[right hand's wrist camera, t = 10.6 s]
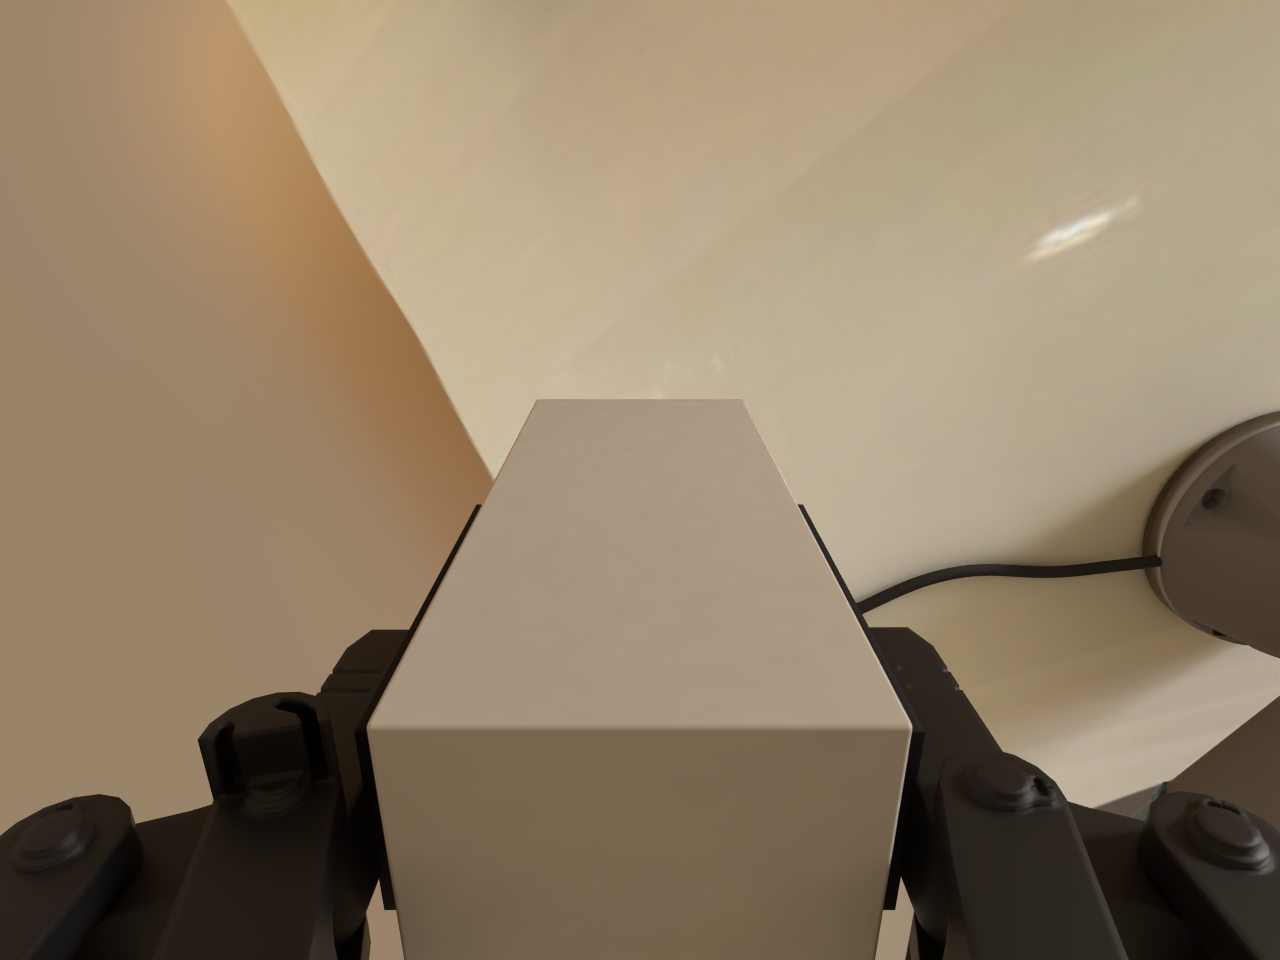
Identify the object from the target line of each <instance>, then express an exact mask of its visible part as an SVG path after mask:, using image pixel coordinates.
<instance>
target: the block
mask: <svg viewBox="0 0 1280 960" xmlns="http://www.w3.org/2000/svg"><path fill="white" fill-rule="evenodd" d="M367 733H368V739H369V746H370V752H371V758H372V764H373V770H374V776H375V782H376V789H377V795H378V801H379V807H380V813H381V819H382V825H383V831H384V838H385V844H386V850H387V856H388V862H389V868H390V874H391V881H392V887H393V893H394V899H395V905H396V911H397V917H398V924H399V930H400V936H401V942H402V948H403V954H404V960H875V956H876V950H877V943H878V937H879V931H880V925H881V919H882V912H883V906H884V900H885V894H886V888H887V882H888V876H889V870H890V863H891V857H892V851H893V845H894V839H895V833H896V827H897V820H898V814H899V808H900V802H901V796H902V790H903V783H904V777H905V771H906V765H907V759H908V753H909V747H910V740H911V734H912V724H911V722H910V720H909V718H908V716H907V714H906V712H905V710H904V708H903V706H902V704H901V702H900V701H899V699H898V697H897V695H896V693H895V691H894V689H893V687H892V685H891V683H890V681H889V679H888V678H887V676H886V674H885V672H884V670H883V668H882V666H881V664H880V662H879V660H878V658H877V656H876V654H875V653H874V651H873V649H872V647H871V645H870V643H869V641H868V639H867V637H866V635H865V633H864V631H863V630H862V628H861V626H860V624H859V622H858V620H857V618H856V616H855V614H854V612H853V610H852V608H851V607H850V605H849V603H848V601H847V599H846V597H845V595H844V593H843V591H842V589H841V587H840V585H839V584H838V582H837V580H836V578H835V576H834V574H833V572H832V570H831V568H830V566H829V564H828V562H827V560H826V559H825V557H824V555H823V553H822V551H821V549H820V547H819V545H818V543H817V541H816V539H815V537H814V536H813V534H812V532H811V530H810V528H809V526H808V524H807V522H806V520H805V518H804V516H803V514H802V513H801V511H800V509H799V507H798V505H797V503H796V501H795V499H794V497H793V495H792V493H791V491H790V490H789V488H788V486H787V484H786V482H785V480H784V478H783V476H782V474H781V472H780V470H779V468H778V466H777V465H776V463H775V461H774V459H773V457H772V455H771V453H770V451H769V449H768V447H767V445H766V443H765V442H764V440H763V438H762V436H761V434H760V432H759V430H758V428H757V426H756V424H755V422H754V420H753V419H752V417H751V415H750V413H749V411H748V409H747V407H746V405H745V403H744V401H743V400H537V401H536V403H535V404H534V406H533V408H532V410H531V412H530V414H529V416H528V418H527V420H526V422H525V424H524V425H523V427H522V429H521V431H520V433H519V435H518V437H517V439H516V441H515V443H514V445H513V447H512V448H511V450H510V452H509V454H508V456H507V458H506V460H505V462H504V464H503V466H502V468H501V469H500V471H499V473H498V475H497V477H496V479H495V481H494V483H493V485H492V487H491V489H490V491H489V492H488V494H487V496H486V498H485V500H484V502H483V504H482V506H481V508H480V510H479V512H478V513H477V515H476V517H475V519H474V521H473V523H472V525H471V527H470V529H469V531H468V533H467V534H466V536H465V538H464V540H463V542H462V544H461V546H460V548H459V550H458V552H457V554H456V556H455V557H454V559H453V561H452V563H451V565H450V567H449V569H448V571H447V573H446V575H445V577H444V578H443V580H442V582H441V584H440V586H439V588H438V590H437V592H436V594H435V596H434V598H433V600H432V601H431V603H430V605H429V607H428V609H427V611H426V613H425V615H424V617H423V619H422V621H421V622H420V624H419V626H418V628H417V630H416V632H415V634H414V636H413V638H412V640H411V642H410V644H409V645H408V647H407V649H406V651H405V653H404V655H403V657H402V659H401V661H400V663H399V665H398V666H397V668H396V670H395V672H394V674H393V676H392V678H391V680H390V682H389V684H388V686H387V687H386V689H385V691H384V693H383V695H382V697H381V699H380V701H379V703H378V705H377V707H376V709H375V710H374V712H373V714H372V716H371V718H370V720H369V722H368V724H367Z"/></svg>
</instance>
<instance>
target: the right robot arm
mask: <svg viewBox="0 0 1280 960" xmlns="http://www.w3.org/2000/svg"><path fill="white" fill-rule="evenodd" d="M481 506H482V505H476V507H475V509H474V511H473V512H472V514H471V516H470V518H469V520H468V522H467V524H466V525H465V527H464V529H463V531H462V533H461V535H460V537H459V538H458V540H457V542H456V544H455V546H454V548H453V550H452V551H451V553H450V555H449V557H448V559H447V561H446V563H445V565H444V566H443V568H442V570H441V572H440V574H439V575H438V577H437V579H436V581H435V583H434V585H433V587H432V588H431V590H430V592H429V594H428V596H427V598H426V600H425V601H424V603H423V605H422V607H421V609H420V611H419V613H418V614H417V616H416V618H415V620H414V622H413V624H412V626H411V627H410V629H409V630H371V631H370V632H368V633H367V634H366V635H364V636H363V637H362V638H360V639H359V640H357V641H356V642H355V643H354V644H352V645H351V646H349V647H348V648H347V649H346V650H345V652H344V653H343V655H342V657H341V658H340V660H339V661H338V663H337V664H336V666H335V667H334V669H333V673H332V674H330V675H329V676H328V678H327V679H326V681H325V682H324V684H323V685H322V687H321V692H320V693H317V695H316V696H313V695H310V694H306V693H302V692H282V693H274V694H270V695H266V696H262V697H257V698H253V699H251V700H249V701H247V702H244V703H242V704H240V705H238V706H235V707H233V708H231V709H229V710H228V711H226V712H225V713H224V714H222V715H221V716H219V717H218V718H217V719H215V720H214V721H213V722H211V723H210V724H209V725H208V727H207V728H206V729H205V731H204V732H203V733H202V735H201V736H200V737H199V739H198V743H199V747H200V750H201V754H202V758H203V762H204V765H205V769H206V773H207V777H208V780H209V784H210V788H211V792H212V796H213V799H214V801H213V803H212V805H209V806H205V807H202V808H199V809H196V810H192V811H189V812H184V813H180V814H176V815H171V816H167V817H163V818H159V819H154V820H150V821H146V822H141V823H137V824H135V821H134V818H133V815H132V812H131V809H130V807H129V806H128V805H127V804H126V803H125V802H124V801H122V800H121V799H120V798H119V797H113V796H107V795H101V794H97V795H90V796H82V797H75V798H71V799H68V800H66V801H63V802H60V803H57V804H54V805H51V806H48V807H45V808H43V809H41V810H40V811H38V812H36V813H34V814H32V815H30V816H28V817H27V818H25V819H23V820H21V821H19V822H17V823H16V824H14V825H13V826H12V827H11V828H9V829H8V830H7V831H6V832H4V833H3V834H2V835H1V836H0V960H369V954H370V944H371V941H370V933H369V926H368V921H367V915H366V911H367V908H368V906H369V903H370V900H371V898H372V895H373V893H374V890H375V888H376V885H377V882H378V880H379V881H380V887H381V893H382V899H383V904H384V910H396V905H395V899H394V893H393V887H392V881H391V874H390V868H389V862H388V856H387V850H386V844H385V838H384V831H383V825H382V819H381V813H380V807H379V801H378V795H377V789H376V782H375V776H374V770H373V764H372V758H371V752H370V746H369V739H368V733H367V724H368V722H369V720H370V718H371V716H372V714H373V712H374V710H375V709H376V707H377V705H378V703H379V701H380V699H381V697H382V695H383V693H384V691H385V689H386V687H387V686H388V684H389V682H390V680H391V678H392V676H393V674H394V672H395V670H396V668H397V666H398V665H399V663H400V661H401V659H402V657H403V655H404V653H405V651H406V649H407V647H408V645H409V644H410V642H411V640H412V638H413V636H414V634H415V632H416V630H417V628H418V626H419V624H420V622H421V621H422V619H423V617H424V615H425V613H426V611H427V609H428V607H429V605H430V603H431V601H432V600H433V598H434V596H435V594H436V592H437V590H438V588H439V586H440V584H441V582H442V580H443V578H444V577H445V575H446V573H447V571H448V569H449V567H450V565H451V563H452V561H453V559H454V557H455V556H456V554H457V552H458V550H459V548H460V546H461V544H462V542H463V540H464V538H465V536H466V534H467V533H468V531H469V529H470V527H471V525H472V523H473V521H474V519H475V517H476V515H477V513H478V512H479V510H480V508H481ZM798 507H799V509H800V511H801V513H802V514H803V516H804V518H805V520H806V522H807V524H808V526H809V528H810V530H811V532H812V534H813V536H814V537H815V539H816V541H817V543H818V545H819V547H820V549H821V551H822V553H823V555H824V557H825V559H826V560H827V562H828V564H829V566H830V568H831V570H832V572H833V574H834V576H835V578H836V580H837V582H838V584H839V585H840V587H841V589H842V591H843V593H844V595H845V597H846V599H847V601H848V603H849V605H850V607H851V608H852V610H853V612H854V614H855V616H856V618H857V620H858V622H859V624H860V626H861V628H862V630H863V631H864V633H865V635H866V637H867V639H868V641H869V643H870V645H871V647H872V649H873V651H874V653H875V654H876V656H877V658H878V660H879V662H880V664H881V666H882V668H883V670H884V672H885V674H886V676H887V678H888V679H889V681H890V683H891V685H892V687H893V689H894V691H895V693H896V695H897V697H898V699H899V701H900V702H901V704H902V706H903V708H904V710H905V712H906V714H907V716H908V718H909V720H910V722H911V724H912V734H911V740H910V747H909V753H908V759H907V765H906V771H905V777H904V783H903V790H902V796H901V802H900V808H899V814H898V820H897V827H896V833H895V839H894V845H893V851H892V857H891V863H890V870H889V876H888V882H887V888H886V894H885V900H884V906H883V910H895V907H896V901H897V896H898V890H899V884H900V878H902V880H903V883H904V885H905V888H906V890H907V893H908V896H909V898H910V901H911V903H912V906H913V908H914V915H913V920H912V926H911V931H910V937H909V942H908V948H907V953H906V959H905V960H1280V696H1279V697H1277V698H1276V699H1275V700H1274V701H1272V702H1271V703H1270V704H1269V705H1267V706H1266V707H1265V708H1263V709H1262V710H1261V711H1260V712H1258V713H1257V714H1256V715H1255V716H1253V717H1252V718H1251V719H1249V720H1248V721H1247V722H1246V723H1244V724H1243V725H1242V726H1240V727H1239V728H1238V729H1237V730H1235V731H1234V732H1233V733H1232V734H1230V735H1229V736H1228V737H1226V738H1225V739H1224V740H1223V741H1221V742H1220V743H1219V744H1218V745H1216V746H1215V747H1214V748H1212V749H1211V750H1210V751H1209V752H1207V753H1206V754H1205V755H1204V756H1202V757H1201V758H1200V759H1198V760H1197V761H1196V762H1195V763H1193V764H1192V765H1191V766H1189V767H1188V768H1187V769H1186V770H1184V771H1183V772H1182V773H1181V774H1179V775H1178V776H1177V777H1175V778H1174V779H1173V780H1172V781H1170V782H1163V783H1162V784H1161V785H1159V786H1158V787H1157V788H1156V790H1155V792H1154V793H1153V796H1152V799H1151V800H1150V801H1149V802H1148V803H1146V804H1145V805H1144V806H1143V807H1142V808H1141V809H1140V810H1139V811H1138V812H1136V813H1135V814H1134V815H1133V816H1132V817H1131V818H1130V817H1126V816H1122V815H1117V814H1113V813H1109V812H1105V811H1100V810H1096V809H1092V808H1088V807H1084V806H1081V805H1078V804H1075V803H1071V802H1068V801H1067V799H1066V798H1065V796H1064V795H1063V793H1062V792H1061V790H1060V788H1059V787H1058V785H1057V784H1056V782H1055V781H1053V780H1052V779H1051V778H1050V777H1049V776H1047V775H1046V774H1045V773H1044V772H1043V771H1041V770H1040V769H1039V768H1038V767H1037V766H1035V765H1033V764H1031V763H1029V762H1027V761H1025V760H1023V759H1021V758H1019V757H1017V756H1015V755H1012V754H1008V753H1005V752H1003V751H1002V750H1001V748H1000V747H999V745H998V744H997V742H996V741H995V739H994V738H993V736H992V735H991V733H990V732H989V730H988V729H987V727H986V725H985V724H984V722H983V721H982V719H981V718H980V716H979V715H978V713H977V712H976V710H975V709H974V707H973V706H972V704H971V703H970V701H969V700H968V698H967V697H966V695H965V694H964V692H963V691H962V690H959V685H958V683H957V682H956V680H955V679H954V677H953V676H952V674H951V672H948V671H947V666H946V665H945V663H944V662H943V660H942V659H941V657H940V656H939V654H938V653H937V651H936V650H935V648H934V647H933V646H932V645H931V644H930V643H928V642H927V641H926V640H924V639H923V638H921V637H920V636H919V635H917V634H916V633H915V632H913V631H912V630H911V629H909V628H908V627H868V625H867V623H866V621H865V619H864V617H863V615H862V614H863V613H866V612H868V611H870V610H872V609H874V608H876V607H878V606H880V605H883V604H885V603H887V602H889V601H891V600H893V599H895V598H898V597H900V596H902V595H904V594H907V593H909V592H912V591H914V590H917V589H920V588H922V587H925V586H929V585H932V584H935V583H939V582H943V581H947V580H952V579H957V578H963V577H971V576H1012V577H1031V578H1057V577H1073V576H1084V575H1092V574H1101V573H1109V572H1118V571H1127V570H1135V569H1143V568H1145V572H1146V575H1147V578H1148V581H1149V583H1150V585H1151V587H1152V589H1153V590H1154V592H1155V594H1156V595H1157V596H1158V598H1159V599H1160V600H1161V601H1162V602H1163V603H1164V604H1165V605H1166V606H1167V607H1168V608H1169V609H1170V610H1172V611H1173V612H1174V613H1176V614H1177V615H1178V616H1180V617H1181V618H1182V619H1183V620H1185V621H1186V622H1188V623H1189V624H1190V625H1192V626H1193V627H1195V628H1197V629H1199V630H1201V631H1203V632H1205V633H1207V634H1210V635H1212V636H1214V637H1217V638H1219V639H1222V640H1226V641H1229V642H1233V643H1237V644H1242V645H1249V646H1251V647H1252V648H1254V649H1257V650H1259V651H1261V652H1264V653H1266V654H1269V655H1272V656H1274V657H1277V658H1280V411H1279V412H1274V413H1270V414H1266V415H1262V416H1259V417H1256V418H1254V419H1251V420H1248V421H1246V422H1243V423H1241V424H1239V425H1237V426H1235V427H1233V428H1231V429H1229V430H1227V431H1225V432H1223V433H1222V434H1220V435H1219V436H1217V437H1215V438H1214V439H1212V440H1211V441H1209V442H1208V443H1207V444H1205V445H1204V446H1203V447H1201V448H1200V449H1199V450H1198V451H1197V452H1195V453H1194V454H1193V455H1192V456H1191V457H1190V458H1189V459H1188V460H1187V461H1186V462H1185V463H1184V464H1183V465H1182V466H1181V467H1180V468H1179V469H1178V470H1177V471H1176V473H1175V474H1174V475H1173V476H1172V477H1171V479H1170V480H1169V481H1168V483H1167V484H1166V486H1165V487H1164V489H1163V490H1162V492H1161V494H1160V495H1159V497H1158V499H1157V501H1156V503H1155V505H1154V507H1153V509H1152V511H1151V514H1150V517H1149V519H1148V522H1147V526H1146V530H1145V535H1144V541H1143V557H1136V558H1128V559H1120V560H1111V561H1103V562H1095V563H1087V564H1078V565H1067V566H1047V567H1040V566H1017V565H998V564H980V565H966V566H958V567H953V568H947V569H943V570H939V571H935V572H931V573H927V574H924V575H921V576H918V577H915V578H913V579H910V580H907V581H905V582H902V583H900V584H898V585H895V586H893V587H891V588H889V589H887V590H884V591H882V592H880V593H878V594H876V595H874V596H872V597H870V598H868V599H866V600H863V601H861V602H859V603H857V604H856V602H855V601H854V599H853V597H852V595H851V593H850V591H849V589H848V588H847V586H846V584H845V582H844V580H843V578H842V576H841V575H840V573H839V571H838V569H837V567H836V565H835V563H834V562H833V560H832V558H831V556H830V554H829V552H828V550H827V549H826V547H825V545H824V543H823V541H822V539H821V537H820V536H819V534H818V532H817V530H816V528H815V526H814V524H813V523H812V521H811V519H810V517H809V515H808V513H807V511H806V510H805V508H804V506H803V505H798Z"/></svg>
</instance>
